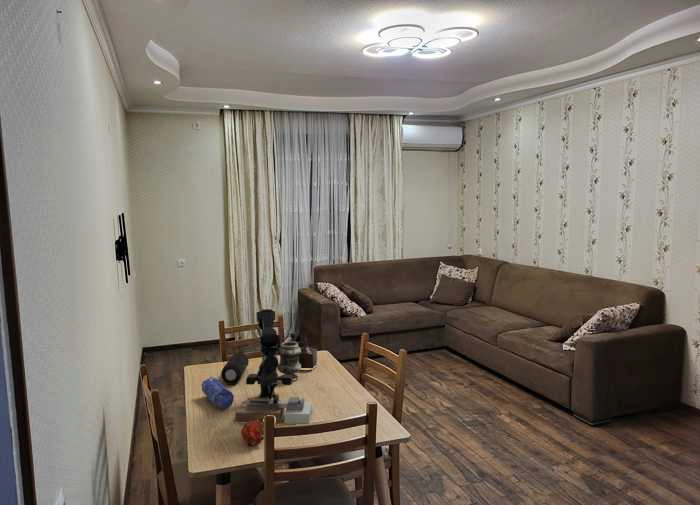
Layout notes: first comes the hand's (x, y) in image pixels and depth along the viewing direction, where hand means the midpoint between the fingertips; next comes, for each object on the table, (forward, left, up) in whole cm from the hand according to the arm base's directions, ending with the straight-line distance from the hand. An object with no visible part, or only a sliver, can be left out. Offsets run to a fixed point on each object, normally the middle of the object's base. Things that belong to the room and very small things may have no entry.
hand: (270, 399), depth 212 cm
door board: (0, -4, -8) cm, 8 cm away
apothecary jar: (-48, +1, -8) cm, 49 cm away
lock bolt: (0, +5, -3) cm, 6 cm away
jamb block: (0, +12, -8) cm, 14 cm away
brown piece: (-66, +5, -8) cm, 67 cm away
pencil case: (-15, -26, -8) cm, 31 cm away
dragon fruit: (+23, -2, -8) cm, 24 cm away
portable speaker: (-49, -27, -8) cm, 56 cm away
